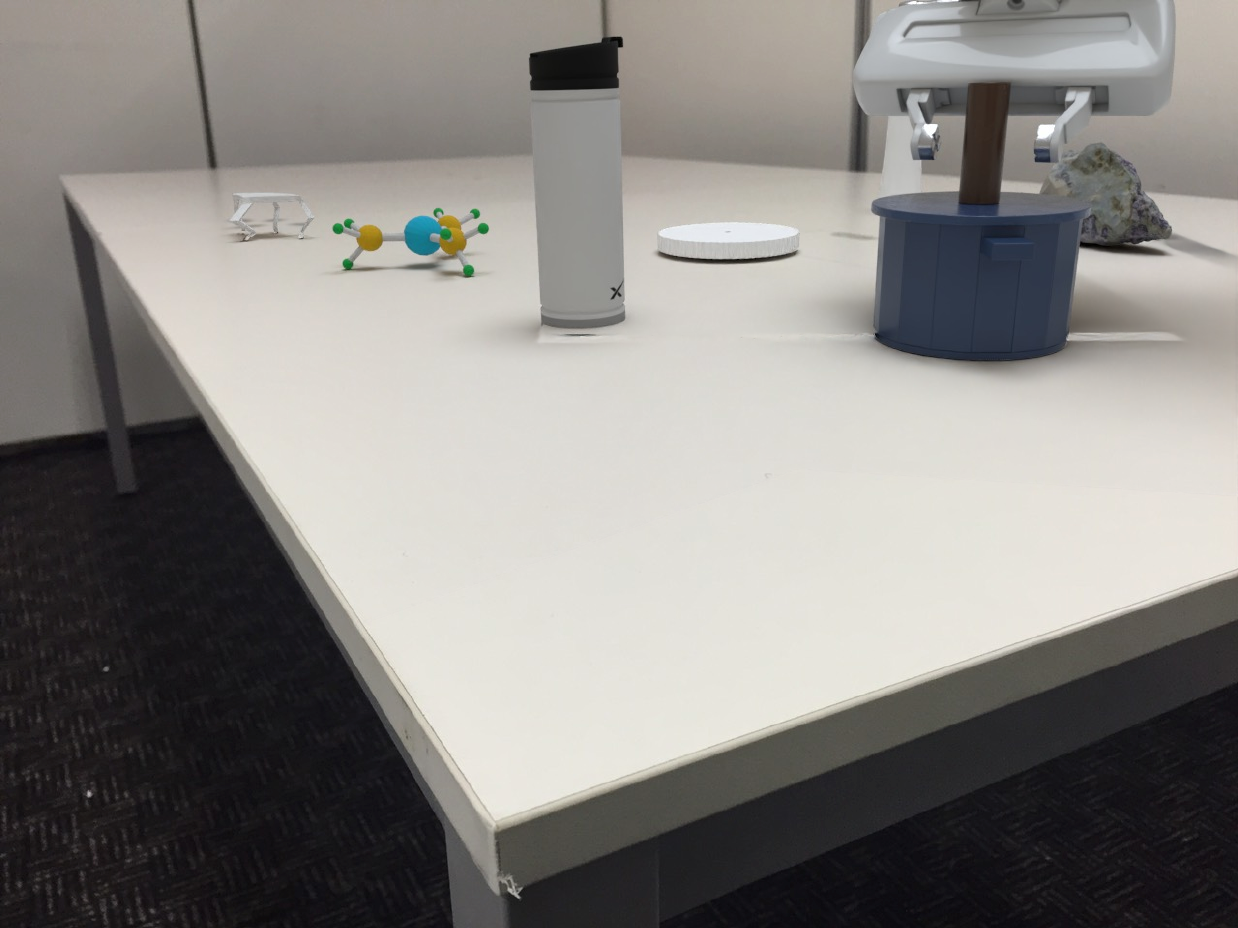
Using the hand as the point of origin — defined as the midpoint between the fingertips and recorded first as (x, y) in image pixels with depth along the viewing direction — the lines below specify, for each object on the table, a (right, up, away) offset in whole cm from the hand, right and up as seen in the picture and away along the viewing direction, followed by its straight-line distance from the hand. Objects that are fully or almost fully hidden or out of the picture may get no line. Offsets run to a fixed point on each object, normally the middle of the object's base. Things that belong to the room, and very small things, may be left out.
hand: (982, 155), depth 69 cm
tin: (+1, -11, +5) cm, 12 cm away
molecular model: (-42, -1, +37) cm, 56 cm away
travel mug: (-26, -10, +11) cm, 30 cm away
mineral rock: (+25, +2, +39) cm, 47 cm away
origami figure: (-65, +7, +59) cm, 88 cm away
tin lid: (0, -3, +2) cm, 4 cm away
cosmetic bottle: (+12, +11, +66) cm, 68 cm away
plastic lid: (-13, 0, +38) cm, 40 cm away
